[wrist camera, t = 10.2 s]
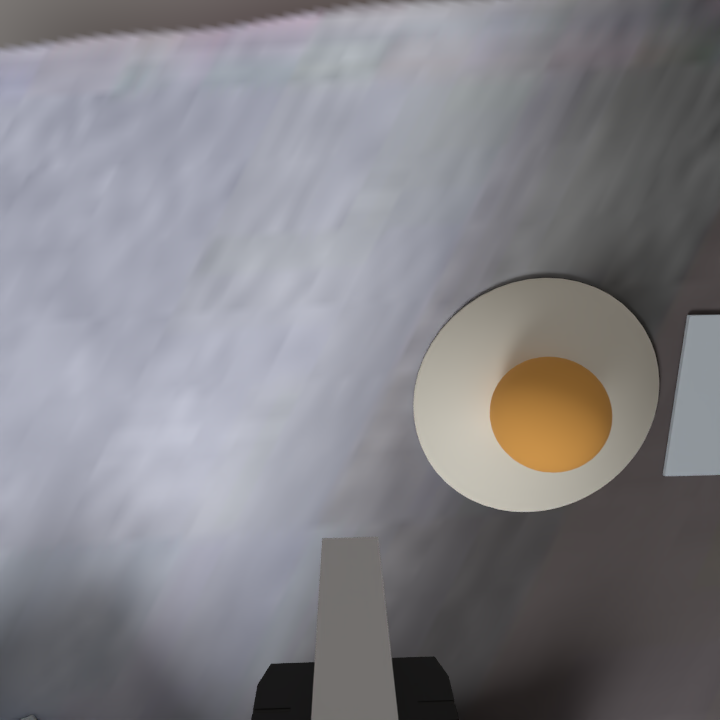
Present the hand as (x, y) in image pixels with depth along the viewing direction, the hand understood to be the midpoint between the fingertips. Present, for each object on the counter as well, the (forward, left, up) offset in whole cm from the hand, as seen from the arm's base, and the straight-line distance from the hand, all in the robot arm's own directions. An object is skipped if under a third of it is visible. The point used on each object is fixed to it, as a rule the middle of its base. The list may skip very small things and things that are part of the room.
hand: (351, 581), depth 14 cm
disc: (-10, 0, -14) cm, 17 cm away
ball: (-10, 0, -11) cm, 15 cm away
